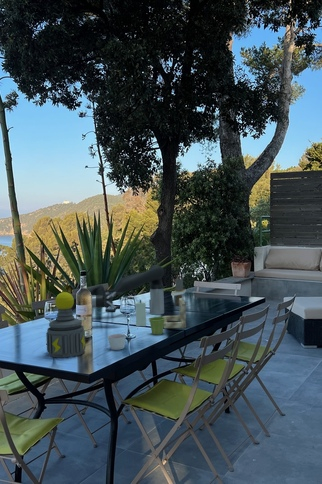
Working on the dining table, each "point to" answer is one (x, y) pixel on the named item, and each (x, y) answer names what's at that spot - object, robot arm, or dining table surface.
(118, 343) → the candle
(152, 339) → the dining table surface
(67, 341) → the decorative lamp
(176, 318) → the beige l-shaped stand
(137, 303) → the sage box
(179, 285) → the architectural model
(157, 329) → the plant pot
